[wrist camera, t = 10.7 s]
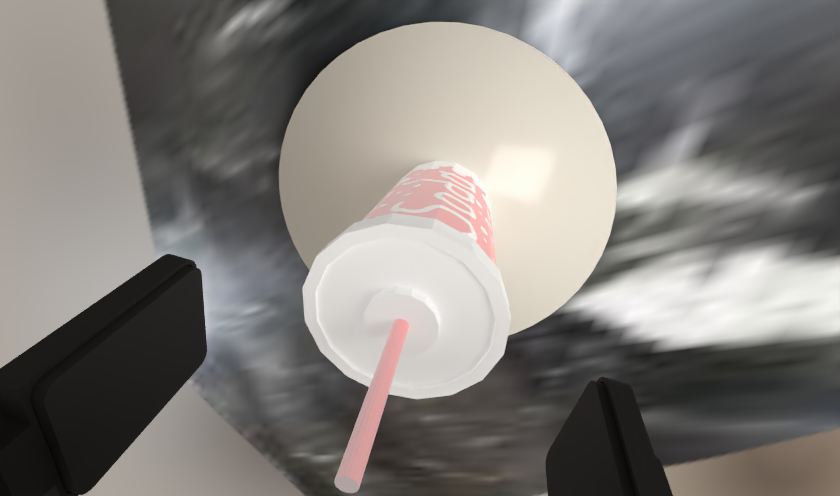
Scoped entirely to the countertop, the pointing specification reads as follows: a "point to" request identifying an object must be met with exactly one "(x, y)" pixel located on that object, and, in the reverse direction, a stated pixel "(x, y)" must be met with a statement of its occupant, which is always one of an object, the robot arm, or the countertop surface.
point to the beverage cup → (410, 298)
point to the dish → (458, 151)
